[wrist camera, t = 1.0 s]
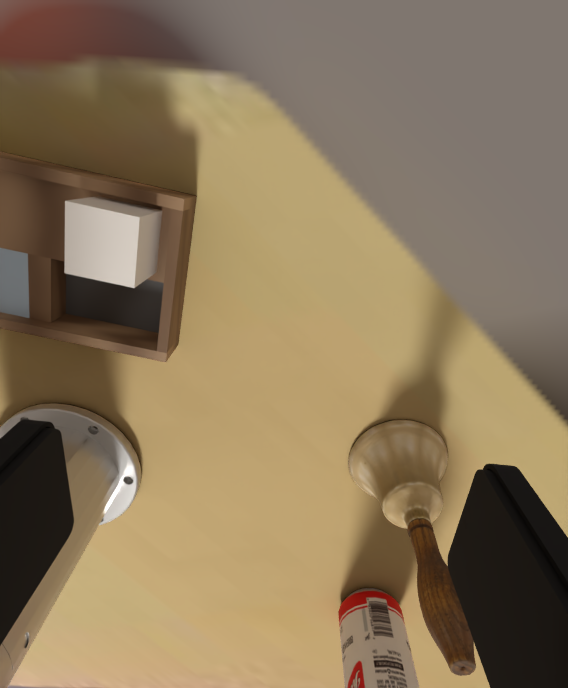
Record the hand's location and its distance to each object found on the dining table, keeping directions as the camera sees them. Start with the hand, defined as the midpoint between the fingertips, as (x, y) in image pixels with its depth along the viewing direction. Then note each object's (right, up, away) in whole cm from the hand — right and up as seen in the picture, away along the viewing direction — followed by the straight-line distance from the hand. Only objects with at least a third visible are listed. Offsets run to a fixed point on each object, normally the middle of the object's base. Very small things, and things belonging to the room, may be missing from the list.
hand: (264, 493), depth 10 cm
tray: (-15, +10, +20) cm, 27 cm away
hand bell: (+10, -6, +26) cm, 29 cm away
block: (-10, +10, +17) cm, 22 cm away
